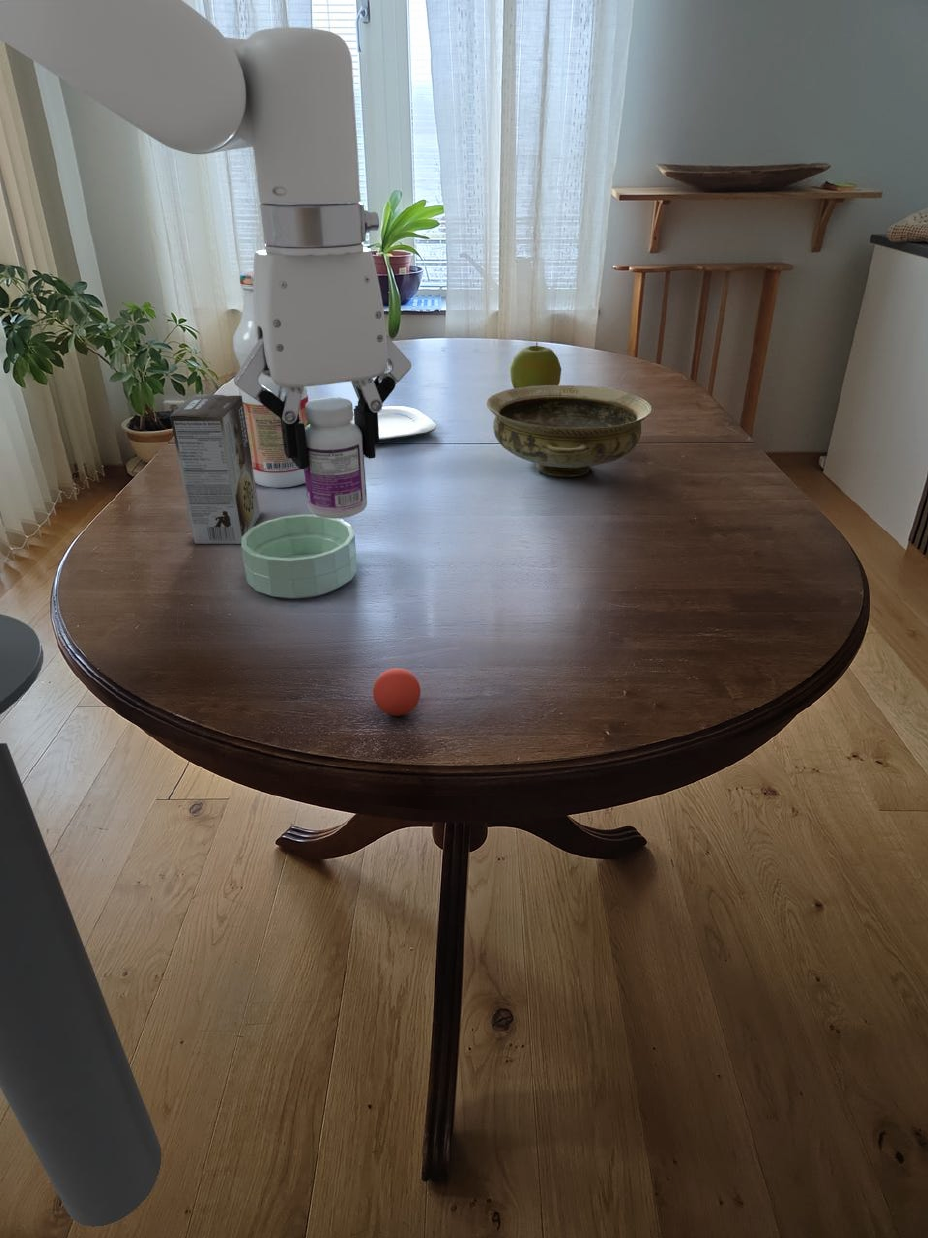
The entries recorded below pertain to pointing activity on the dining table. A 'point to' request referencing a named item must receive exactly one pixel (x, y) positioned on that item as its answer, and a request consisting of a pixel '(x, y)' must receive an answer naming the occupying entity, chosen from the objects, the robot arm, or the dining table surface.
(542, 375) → the apple
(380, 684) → the rubber ball
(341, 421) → the pill bottle
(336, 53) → the robot arm
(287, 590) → the celadon bowl
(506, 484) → the dining table surface
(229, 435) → the grey cardboard box
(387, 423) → the plate
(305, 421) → the fruit juice
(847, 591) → the dining table surface
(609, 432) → the ceramic bowl
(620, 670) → the dining table surface
